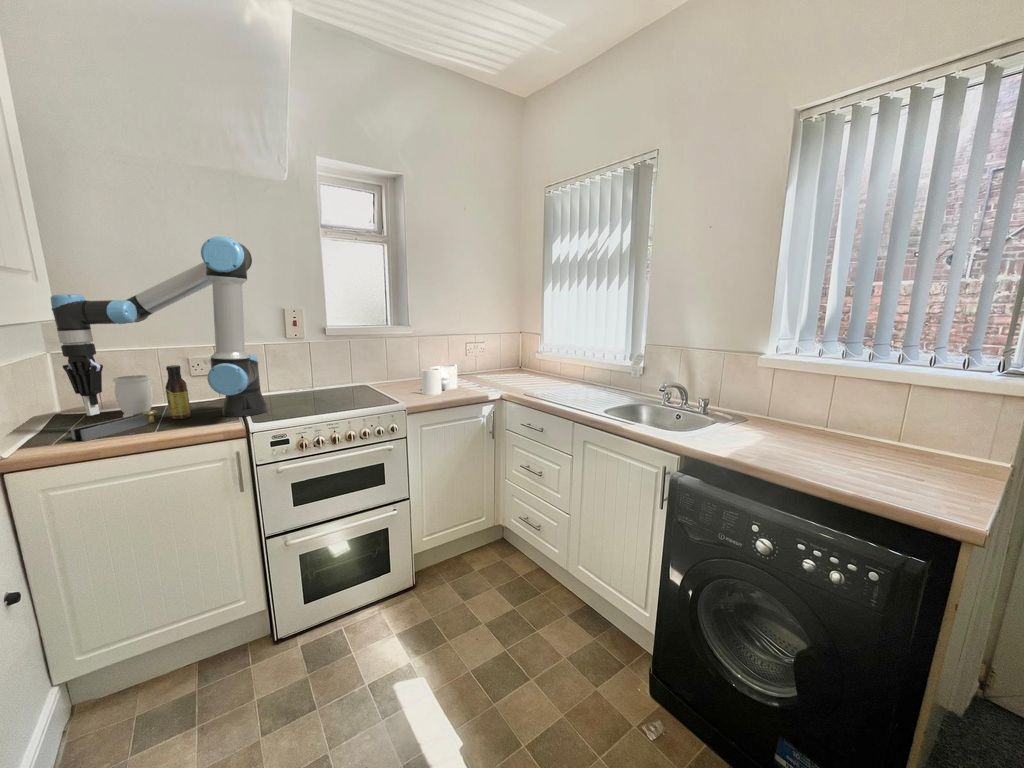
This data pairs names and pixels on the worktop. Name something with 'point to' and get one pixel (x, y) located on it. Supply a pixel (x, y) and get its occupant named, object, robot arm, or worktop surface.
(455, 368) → the white paper rolls
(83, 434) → the arm
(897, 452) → the worktop surface
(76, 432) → the tongs moving arm
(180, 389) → the sauce bottle
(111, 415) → the worktop surface
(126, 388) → the jar
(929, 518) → the worktop surface
